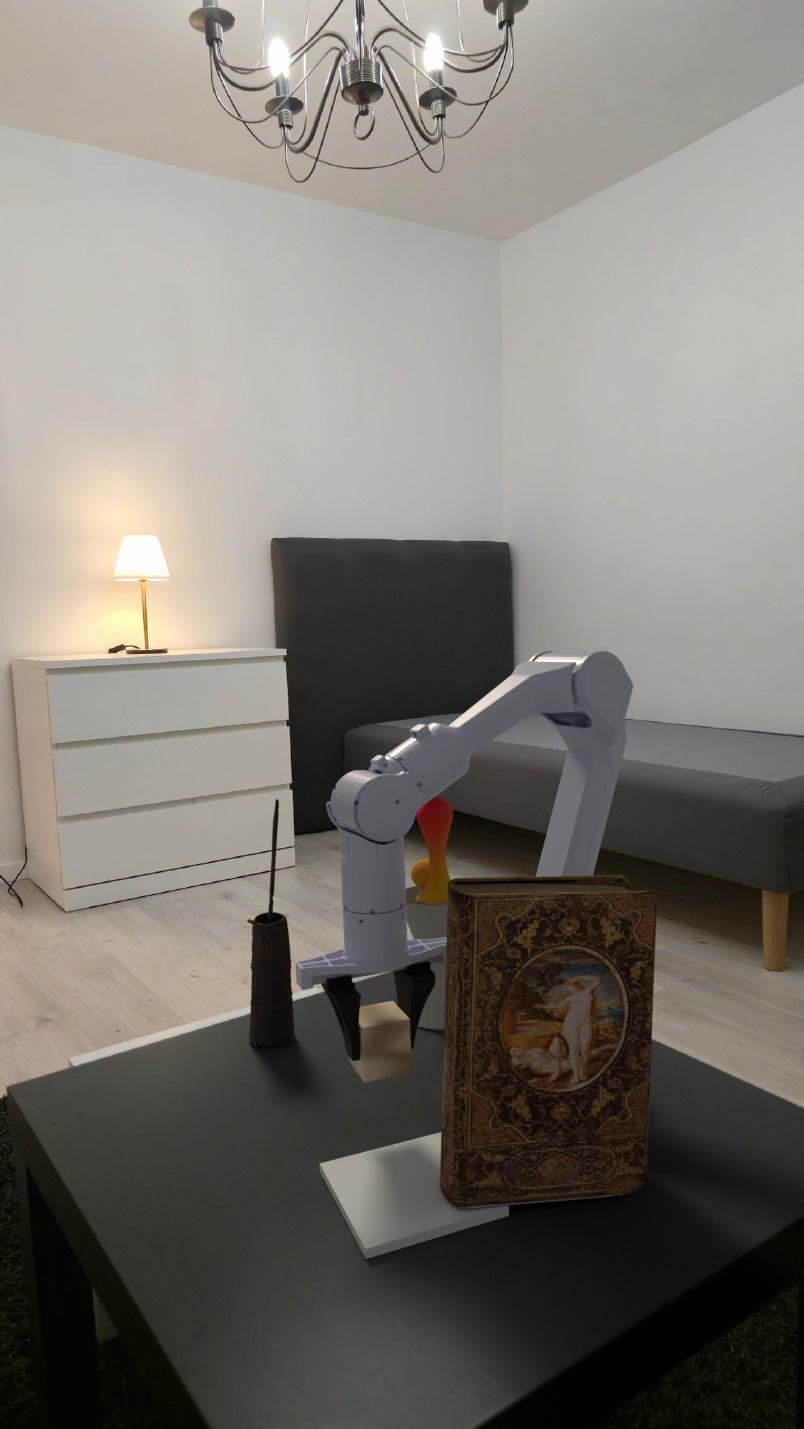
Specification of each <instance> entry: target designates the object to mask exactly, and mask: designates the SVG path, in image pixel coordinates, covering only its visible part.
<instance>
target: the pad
mask: <svg viewBox="0 0 804 1429" xmlns="http://www.w3.org/2000/svg"><path fill="white" fill-rule="evenodd" d="M440 1160H441V1131H440V1132H437V1133H434V1134H428V1135H425V1136H421V1137H417V1138H413V1139H410V1140H406V1141H402V1142H398V1143H394V1144H390V1145H386V1146H382V1147H378V1148H374V1149H369V1150H367V1151H362V1152H359V1153H355V1154H352V1155H351V1154H350V1155H347V1156H344V1157H339V1158H336V1159H332V1160H328V1161H324V1162H320V1163H319V1173H320V1176H321V1177H322V1179H323V1181H324V1183H325V1185H326V1187H327V1188H328V1190H329V1193H330V1194H331V1196H332V1199H333V1200H334V1202H335V1203H336V1205H337V1208H339V1211H340V1213H341V1215H342V1217H343V1219H344V1220H345V1222H346V1225H347V1226H348V1228H349V1230H350V1232H351V1234H352V1236H353V1237H354V1239H355V1241H356V1243H357V1245H358V1247H359V1249H360V1251H361V1252H362V1254H363V1257H364V1258H365V1260H368V1259H371V1258H374V1257H378V1256H381V1255H385V1254H387V1253H390V1252H394V1251H397V1250H401V1249H405V1248H406V1247H410V1246H413V1245H416V1244H420V1243H424V1242H427V1241H430V1240H434V1239H436V1238H440V1237H443V1236H446V1235H450V1234H451V1235H452V1234H453V1233H457V1232H461V1231H464V1230H467V1229H470V1228H472V1227H473V1228H474V1227H476V1226H480V1225H483V1224H486V1223H490V1222H493V1221H495V1220H499V1219H504V1218H506V1217H509V1216H510V1210H509V1209H510V1208H509V1206H510V1205H505V1206H493V1207H481V1208H469V1209H461V1208H459V1207H456V1206H455V1205H453V1204H451V1203H450V1202H449V1201H448V1200H447V1199H446V1198H445V1197H444V1195H443V1193H442V1191H441V1188H440Z"/></svg>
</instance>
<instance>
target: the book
mask: <svg viewBox="0 0 804 1429" xmlns="http://www.w3.org/2000/svg"><path fill="white" fill-rule="evenodd" d="M656 935H657V898H656V895H655V894H654V893H653V892H651V891H650V890H636V889H633V888H631V887H630V880H629V879H628V878H627V877H626V876H624V875H623V874H617V875H616V874H612V875H609V874H607V875H604V874H603V875H593V876H546V877H536V876H508V877H507V876H505V877H504V876H503V877H500V876H499V877H498V876H496V877H495V876H494V877H457V878H453V879H451V880H450V881H449V882H448V906H447V942H446V978H445V1015H444V1030H443V1051H442V1052H443V1053H442V1054H443V1057H442V1058H443V1059H442V1094H441V1101H442V1102H441V1125H440V1126H441V1128H440V1130H441V1131H440V1132H441V1160H440V1188H441V1191H442V1193H443V1195H444V1197H445V1198H446V1199H447V1200H448V1201H449V1202H450V1203H451V1204H453V1205H455V1206H456V1207H459V1208H461V1209H469V1208H481V1207H493V1206H505V1205H508V1206H514V1205H527V1204H537V1203H539V1204H541V1203H549V1202H551V1203H552V1202H553V1203H554V1202H565V1201H574V1200H589V1199H598V1198H608V1197H615V1196H623V1195H630V1194H637V1193H638V1192H640V1191H641V1190H642V1189H643V1187H644V1185H645V1182H646V1175H647V1169H648V1166H647V1165H648V1145H649V1122H650V1121H649V1118H650V1093H651V1091H650V1090H651V1066H652V1064H651V1063H652V1042H653V1041H652V1040H653V1017H654V1016H653V1014H654V992H655V990H654V988H655V986H654V985H655V984H654V983H655V967H656V966H655V964H656V938H657V936H656Z"/></svg>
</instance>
